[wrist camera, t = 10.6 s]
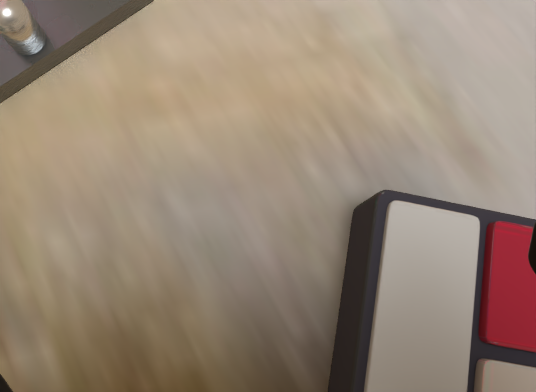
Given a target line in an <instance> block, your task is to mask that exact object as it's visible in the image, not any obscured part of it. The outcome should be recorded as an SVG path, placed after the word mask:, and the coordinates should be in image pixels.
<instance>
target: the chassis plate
mask: <svg viewBox="0 0 536 392" xmlns="http://www.w3.org/2000/svg"><path fill="white" fill-rule="evenodd" d="M152 1H153V0H0V102H2V101H3V100H5V99H6V98H8V97H9V96H11V95H12V94H14V93H15V92H17V91H18V90H20V89H21V88H23V87H24V86H26V85H27V84H29V83H30V82H32V81H33V80H35V79H36V78H38V77H39V76H41V75H42V74H44V73H45V72H47V71H48V70H50V69H51V68H53V67H54V66H56V65H57V64H59V63H60V62H62V61H63V60H65V59H66V58H68V57H69V56H71V55H72V54H74V53H75V52H77V51H78V50H80V49H81V48H83V47H84V46H86V45H87V44H89V43H90V42H92V41H93V40H95V39H96V38H98V37H99V36H101V35H102V34H104V33H105V32H107V31H108V30H110V29H111V28H113V27H114V26H116V25H117V24H119V23H120V22H122V21H123V20H125V19H126V18H128V17H129V16H131V15H132V14H134V13H135V12H137V11H138V10H140V9H141V8H143V7H144V6H146V5H147V4H149V3H150V2H152Z"/></svg>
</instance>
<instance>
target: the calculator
mask: <svg viewBox="0 0 536 392" xmlns="http://www.w3.org/2000/svg"><path fill="white" fill-rule="evenodd" d="M535 222H536V220H535V219H530V218H525V217H520V216H515V215H510V214H505V213H500V212H495V211H490V210H486V209H481V208H476V207H471V206H466V205H461V204H456V203H451V202H446V201H441V200H436V199H431V198H426V197H421V196H416V195H412V194H407V193H402V192H397V191H391V190H383V191H380V192H379V193H377V194H375V195H374V196H372V197H371V198H369V199H368V200H366V201H364V202H363V203H361V204H360V205H358V206H357V207H356V208H355V209H354V212H353V217H352V223H351V231H350V238H349V245H348V252H347V259H346V266H345V273H344V280H343V287H342V294H341V302H340V309H339V316H338V323H337V330H336V337H335V344H334V351H333V358H332V365H331V373H330V380H329V387H328V392H536V274H535V273H534V271H533V270H532V268H531V266H530V264H529V260H528V251H529V246H530V241H531V237H532V232H533V227H534V223H535Z"/></svg>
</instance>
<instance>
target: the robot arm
mask: <svg viewBox="0 0 536 392" xmlns="http://www.w3.org/2000/svg"><path fill="white" fill-rule="evenodd" d="M528 260H529V264H530V266H531V268H532V270H533V271H534V273H535V274H536V222H535V223H534V227H533V232H532V237H531V241H530V246H529V251H528ZM0 392H13V391H12V389H11V388H10V387H9V385H8V384H7V382H6V381H5V380H4V378H3V377H2V376H1V374H0Z"/></svg>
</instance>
